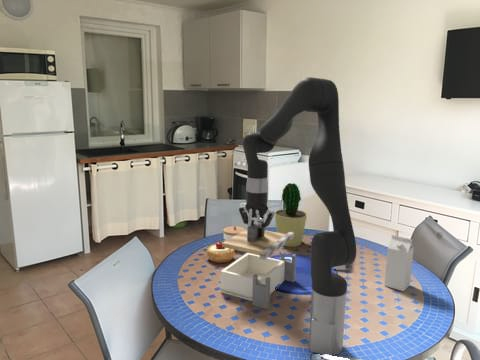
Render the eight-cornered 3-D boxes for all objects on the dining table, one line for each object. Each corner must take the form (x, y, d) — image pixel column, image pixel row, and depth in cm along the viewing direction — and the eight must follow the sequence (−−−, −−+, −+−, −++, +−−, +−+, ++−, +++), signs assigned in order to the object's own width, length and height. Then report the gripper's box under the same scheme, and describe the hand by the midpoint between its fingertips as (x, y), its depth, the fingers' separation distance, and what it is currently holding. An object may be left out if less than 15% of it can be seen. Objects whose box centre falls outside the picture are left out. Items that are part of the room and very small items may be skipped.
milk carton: (390, 279, 152) (395, 232, 148) (409, 285, 148) (414, 236, 144) (384, 286, 147) (388, 237, 143) (403, 292, 142) (408, 242, 138)
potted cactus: (310, 240, 193) (313, 181, 188) (298, 250, 180) (301, 186, 174) (281, 235, 201) (283, 177, 195) (268, 244, 188) (270, 182, 182)
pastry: (201, 259, 170) (200, 240, 168) (221, 252, 178) (221, 233, 176) (220, 267, 162) (219, 246, 160) (240, 259, 170) (240, 239, 168)
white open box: (267, 309, 129) (268, 279, 127) (217, 294, 138) (217, 266, 136) (295, 280, 150) (296, 254, 148) (249, 269, 159) (250, 245, 157)
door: (264, 259, 127) (265, 240, 125) (218, 249, 135) (218, 231, 134) (293, 237, 148) (294, 220, 147) (252, 229, 156) (252, 213, 155)
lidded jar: (220, 242, 190) (220, 223, 188) (241, 240, 193) (242, 222, 191) (226, 250, 179) (226, 230, 178) (248, 248, 183) (249, 228, 181)
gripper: (234, 189, 138) (233, 236, 141) (270, 194, 131) (269, 243, 135) (244, 185, 144) (243, 230, 148) (279, 190, 138) (278, 237, 141)
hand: (255, 236), depth 141 cm, fingers closed on door, 3 cm apart
